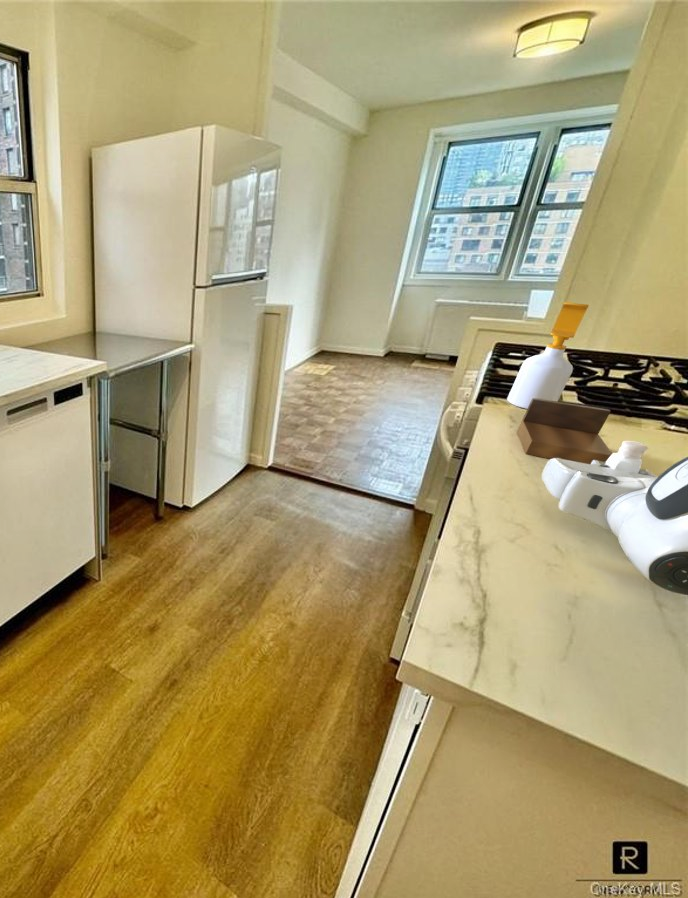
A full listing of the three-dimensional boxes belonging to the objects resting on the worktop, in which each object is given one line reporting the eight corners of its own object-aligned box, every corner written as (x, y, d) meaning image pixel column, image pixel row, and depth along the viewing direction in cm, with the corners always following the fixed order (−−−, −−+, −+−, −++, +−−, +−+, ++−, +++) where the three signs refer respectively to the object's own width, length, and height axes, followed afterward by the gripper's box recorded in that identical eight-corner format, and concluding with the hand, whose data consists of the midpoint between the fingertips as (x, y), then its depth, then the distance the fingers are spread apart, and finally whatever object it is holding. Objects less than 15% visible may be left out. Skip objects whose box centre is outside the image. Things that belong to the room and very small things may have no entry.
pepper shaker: (629, 514, 78) (668, 454, 73) (586, 506, 80) (621, 447, 75) (614, 497, 82) (649, 440, 77) (573, 490, 84) (605, 433, 79)
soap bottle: (503, 404, 119) (548, 302, 107) (509, 395, 124) (552, 297, 113) (551, 415, 113) (604, 308, 102) (555, 404, 119) (605, 302, 107)
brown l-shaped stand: (589, 444, 100) (609, 409, 96) (606, 469, 91) (628, 431, 87) (516, 431, 105) (532, 397, 101) (525, 453, 96) (543, 417, 92)
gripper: (771, 514, 62) (721, 468, 73) (565, 472, 72) (546, 437, 82) (740, 552, 65) (696, 503, 76) (546, 507, 75) (530, 469, 85)
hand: (617, 468), depth 79 cm, fingers closed on pepper shaker, 4 cm apart
